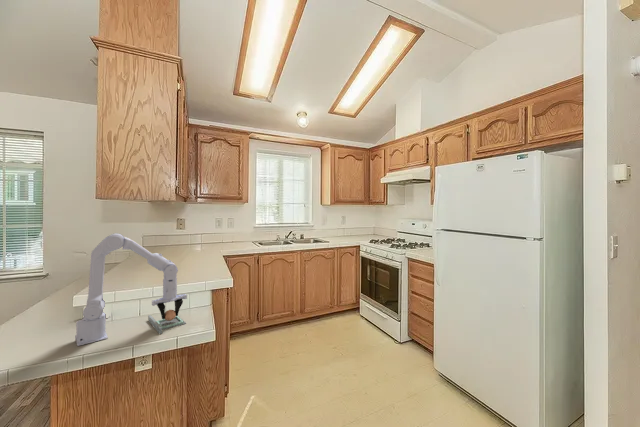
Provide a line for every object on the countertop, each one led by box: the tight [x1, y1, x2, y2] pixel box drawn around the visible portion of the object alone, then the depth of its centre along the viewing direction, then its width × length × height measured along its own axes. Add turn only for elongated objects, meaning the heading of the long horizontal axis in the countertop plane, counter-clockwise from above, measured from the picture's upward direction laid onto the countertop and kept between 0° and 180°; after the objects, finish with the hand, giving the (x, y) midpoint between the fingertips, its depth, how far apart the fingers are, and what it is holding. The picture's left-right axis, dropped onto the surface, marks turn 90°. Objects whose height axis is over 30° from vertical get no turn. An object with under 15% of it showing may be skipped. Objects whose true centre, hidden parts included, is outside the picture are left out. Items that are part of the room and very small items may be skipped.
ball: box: [165, 309, 176, 321], centre depth 127 cm, size 5×5×5 cm
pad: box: [156, 315, 187, 331], centre depth 127 cm, size 11×11×1 cm
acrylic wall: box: [147, 314, 163, 335], centre depth 123 cm, size 1×20×2 cm, turn 45°
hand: (169, 317), depth 127 cm, fingers closed on ball, 5 cm apart
